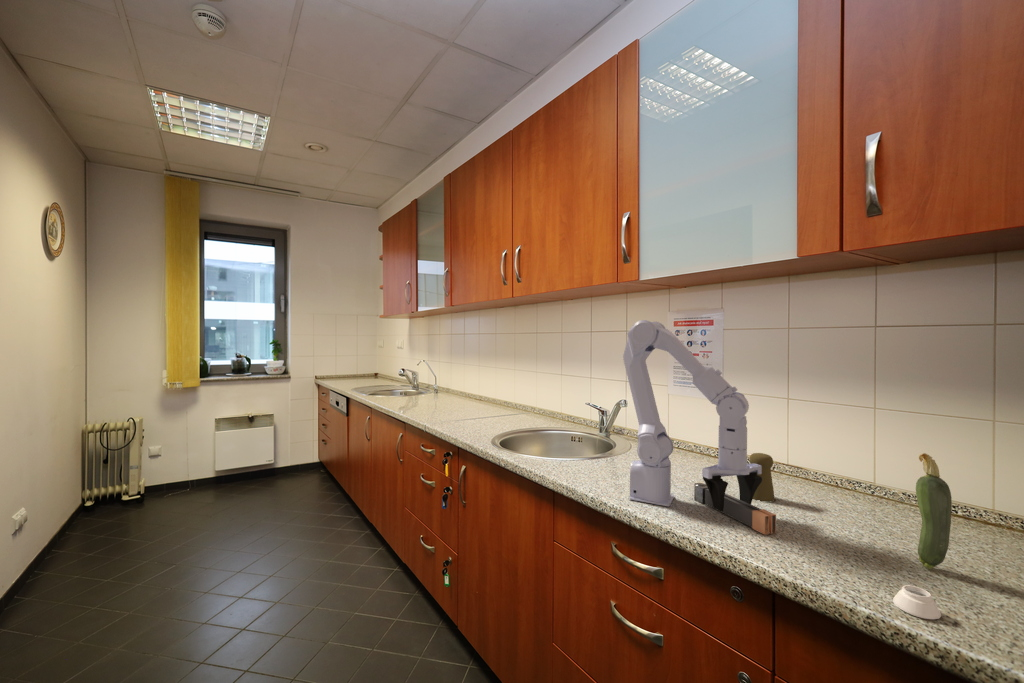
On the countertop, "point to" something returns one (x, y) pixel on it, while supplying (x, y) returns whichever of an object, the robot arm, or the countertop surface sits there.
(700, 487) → the tongs hub
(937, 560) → the vegetable
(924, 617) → the upside-down white bowl
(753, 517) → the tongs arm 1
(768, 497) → the cork
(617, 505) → the countertop surface
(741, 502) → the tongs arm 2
